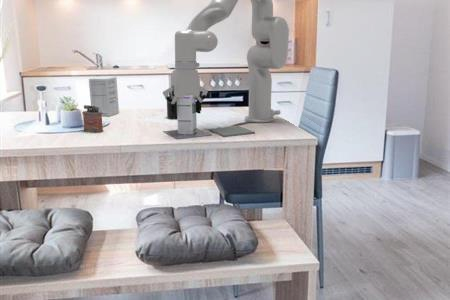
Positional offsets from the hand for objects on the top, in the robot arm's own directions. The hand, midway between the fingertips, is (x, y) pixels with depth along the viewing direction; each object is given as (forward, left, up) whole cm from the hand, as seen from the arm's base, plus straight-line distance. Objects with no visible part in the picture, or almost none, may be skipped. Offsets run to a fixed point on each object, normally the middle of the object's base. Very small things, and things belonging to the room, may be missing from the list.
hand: (185, 113), depth 166 cm
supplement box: (+17, -55, -8) cm, 58 cm away
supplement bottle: (-8, -32, -8) cm, 34 cm away
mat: (-16, +5, -8) cm, 19 cm away
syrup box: (0, 0, -8) cm, 8 cm away
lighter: (+30, -20, -8) cm, 37 cm away
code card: (0, 0, -8) cm, 8 cm away
